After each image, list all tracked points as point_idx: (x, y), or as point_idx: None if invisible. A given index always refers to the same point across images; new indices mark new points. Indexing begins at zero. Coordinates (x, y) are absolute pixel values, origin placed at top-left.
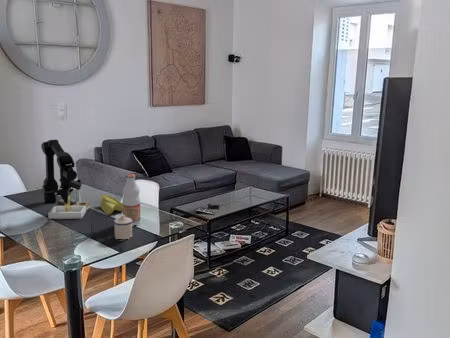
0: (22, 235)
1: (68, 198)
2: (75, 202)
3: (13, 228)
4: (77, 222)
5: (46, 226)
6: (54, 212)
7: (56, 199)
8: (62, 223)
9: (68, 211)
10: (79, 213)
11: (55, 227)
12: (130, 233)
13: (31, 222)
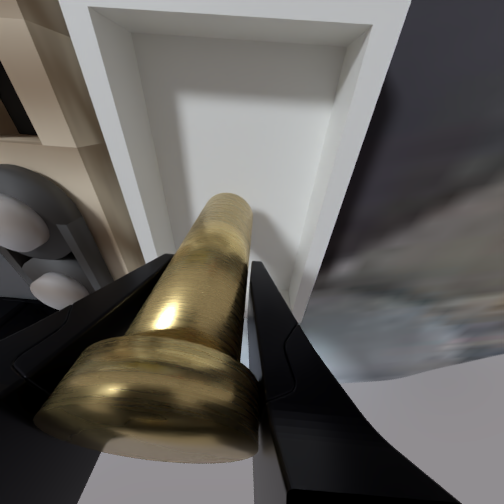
0: (492, 344)
1: (228, 307)
2: (17, 177)
3: (376, 368)
4: (486, 57)
5: (425, 285)
6: (296, 297)
7: (2, 306)
8: (422, 208)
9: (177, 209)
10: (394, 31)
11: (485, 240)
12: None
13: (326, 338)
